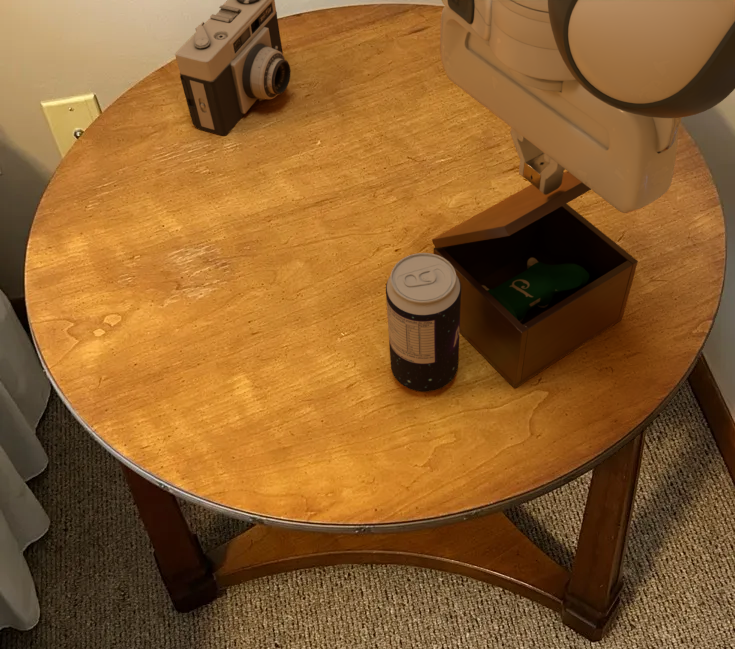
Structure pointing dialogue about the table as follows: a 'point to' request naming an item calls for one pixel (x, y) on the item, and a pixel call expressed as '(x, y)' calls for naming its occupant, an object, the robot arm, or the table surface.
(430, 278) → the beverage can
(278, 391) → the table surface
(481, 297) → the chest
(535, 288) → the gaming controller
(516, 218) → the lid
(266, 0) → the camera
